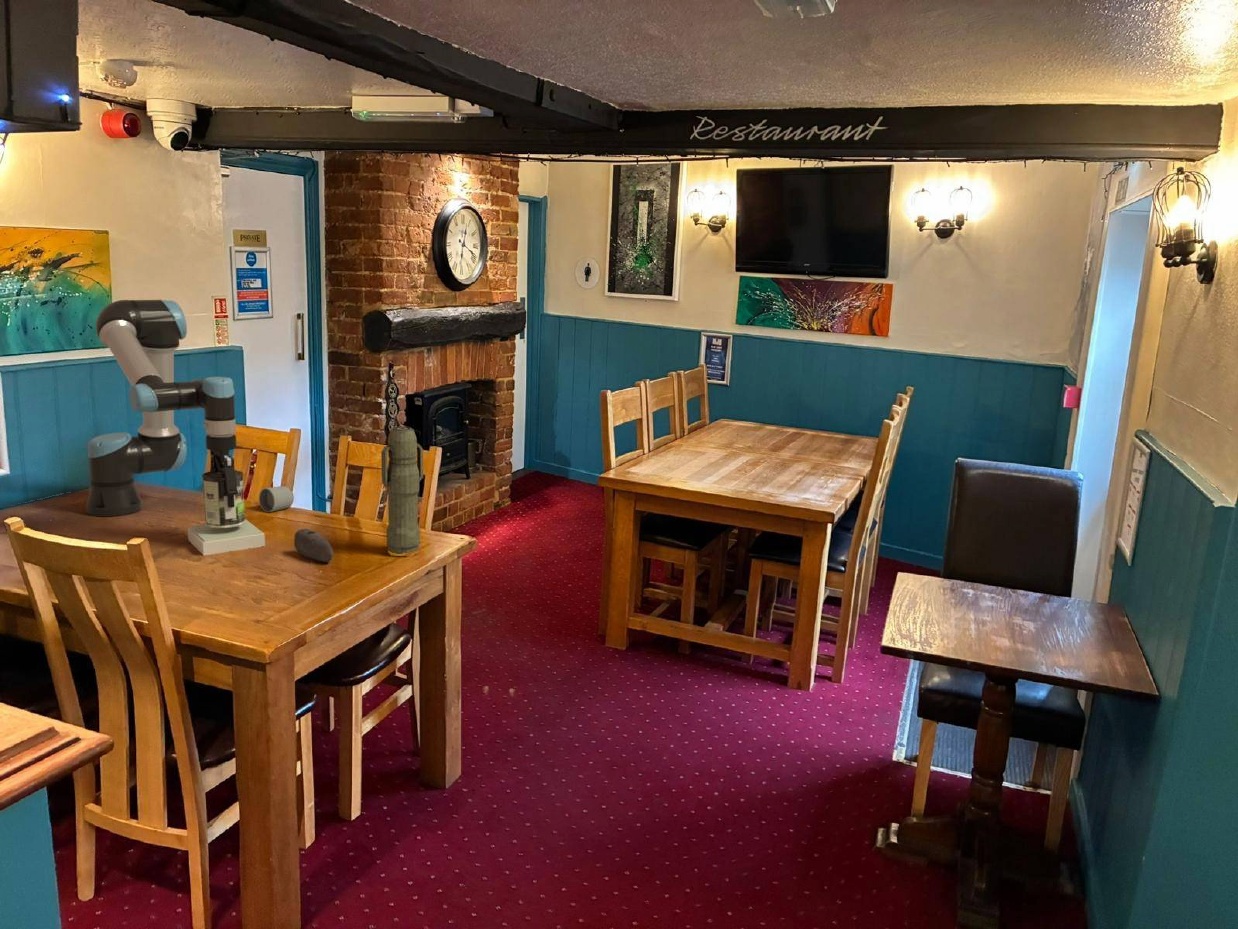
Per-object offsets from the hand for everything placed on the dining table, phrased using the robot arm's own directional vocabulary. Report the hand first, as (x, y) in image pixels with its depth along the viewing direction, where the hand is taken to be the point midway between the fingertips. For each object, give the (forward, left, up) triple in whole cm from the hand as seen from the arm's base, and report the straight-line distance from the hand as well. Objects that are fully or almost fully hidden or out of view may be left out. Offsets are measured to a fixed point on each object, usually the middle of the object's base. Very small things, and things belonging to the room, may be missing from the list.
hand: (224, 513), depth 251 cm
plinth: (0, 0, -9) cm, 9 cm away
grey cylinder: (-29, +22, -9) cm, 37 cm away
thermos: (+32, +38, -9) cm, 50 cm away
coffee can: (0, 0, -3) cm, 3 cm away
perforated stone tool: (+25, +16, -9) cm, 31 cm away
